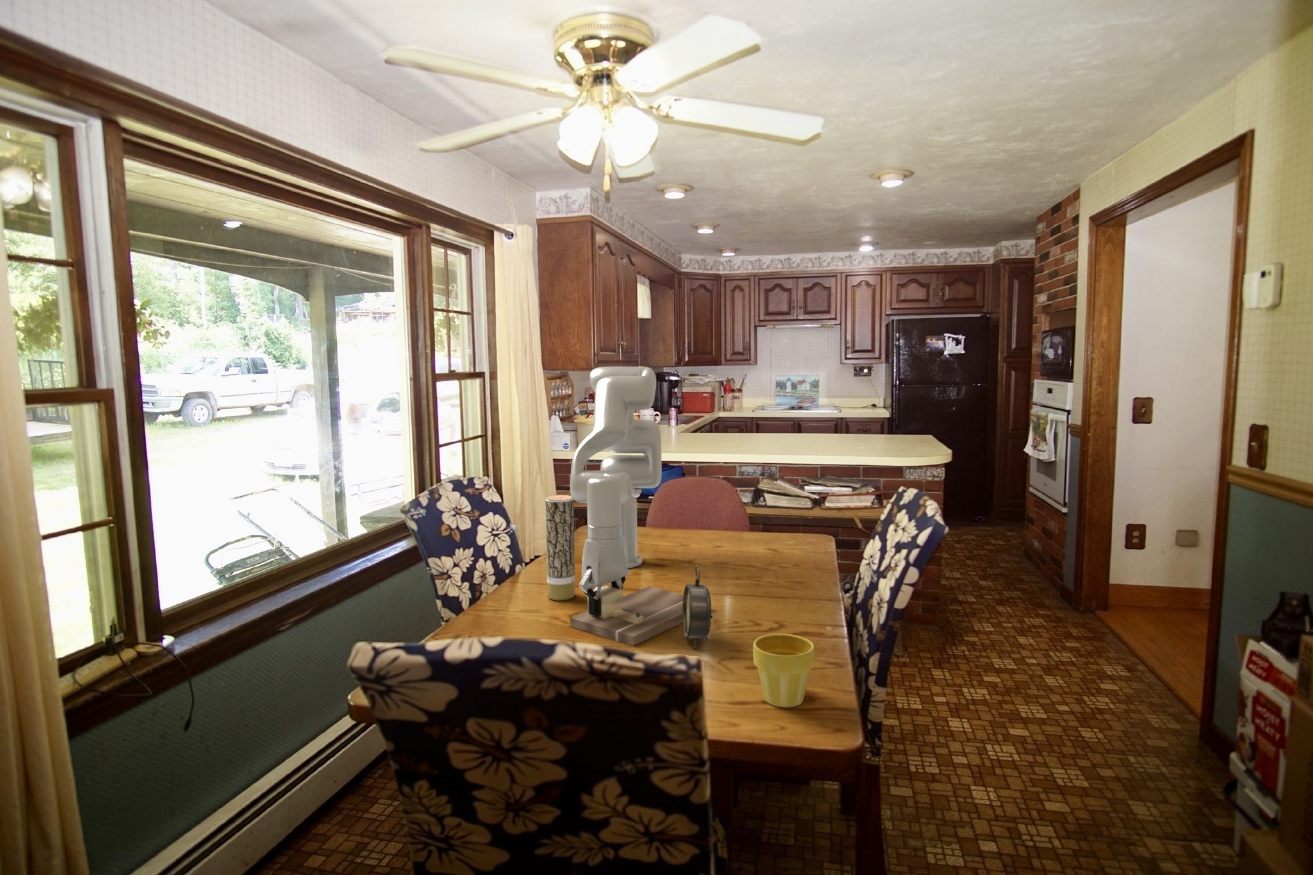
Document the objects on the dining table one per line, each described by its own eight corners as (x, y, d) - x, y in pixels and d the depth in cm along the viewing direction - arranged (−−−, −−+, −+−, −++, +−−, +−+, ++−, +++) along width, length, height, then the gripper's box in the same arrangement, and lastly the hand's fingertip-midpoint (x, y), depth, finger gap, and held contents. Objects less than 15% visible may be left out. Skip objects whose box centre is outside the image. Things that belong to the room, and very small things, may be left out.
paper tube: (552, 603, 170) (551, 501, 168) (543, 595, 176) (541, 496, 174) (579, 598, 173) (577, 498, 171) (569, 591, 179) (567, 494, 177)
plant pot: (751, 684, 127) (751, 631, 126) (809, 686, 126) (810, 633, 125) (753, 712, 116) (754, 654, 115) (817, 714, 115) (818, 657, 114)
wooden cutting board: (570, 626, 155) (570, 617, 155) (649, 594, 177) (649, 586, 177) (633, 646, 144) (633, 636, 144) (709, 609, 166) (709, 600, 166)
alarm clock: (681, 632, 151) (681, 558, 150) (706, 631, 152) (706, 557, 150) (687, 652, 141) (688, 573, 139) (714, 651, 141) (715, 572, 139)
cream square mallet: (587, 614, 157) (587, 592, 156) (605, 606, 162) (605, 585, 161) (631, 626, 149) (631, 603, 149) (649, 618, 154) (649, 596, 153)
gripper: (617, 523, 165) (617, 597, 167) (564, 536, 151) (565, 618, 153) (642, 527, 160) (642, 604, 162) (590, 541, 147) (590, 625, 149)
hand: (605, 610), depth 158 cm, fingers closed on cream square mallet, 6 cm apart
